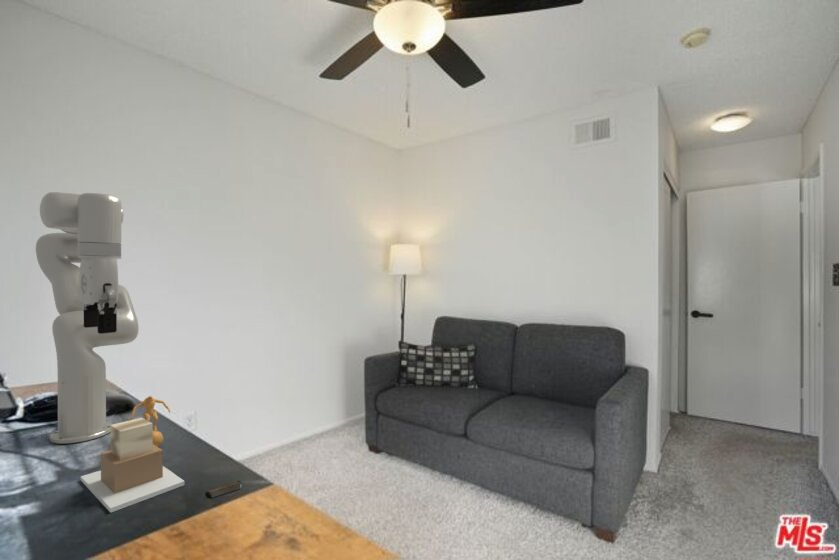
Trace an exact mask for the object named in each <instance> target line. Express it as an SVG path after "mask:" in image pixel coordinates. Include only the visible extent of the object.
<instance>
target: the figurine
mask: <svg viewBox="0 0 839 560" xmlns="http://www.w3.org/2000/svg"><path fill="white" fill-rule="evenodd" d="M156 403H157V404H162V405H163V406H164V407H165V408H166V409H167V411H168V413H169V414H171V409H170V408H169V406H168V405H167V403H165V401H163V400H160V399H157V398H153V396H152V395H149V396H148V397H146V398H145V399H144V400H142V401H141V402H140V403H138V404H137V405H135V406H134V407H132V408H133V409H132V412H131V415H130V419H129V421H130V420H134V419H135V418H134V415H135V412H136V409H139V408H140V407H142V406H144V408H145V410H146V411H145V412H143V417H144V419H145V420H147V421H149V422H150V420H151V418H152V419H154V421H153V444H154V445H155V446H157V447H159V446H160V445H161V444H162V443H163V440H164V436H163V433H162V432H161V431H159V430H158V428H157V425H156V424H158V420H159V416H158V414H157V412H158V411H157V410H156V409H155V410H154V408H155V405H156ZM151 416H152V417H151Z"/></svg>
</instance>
